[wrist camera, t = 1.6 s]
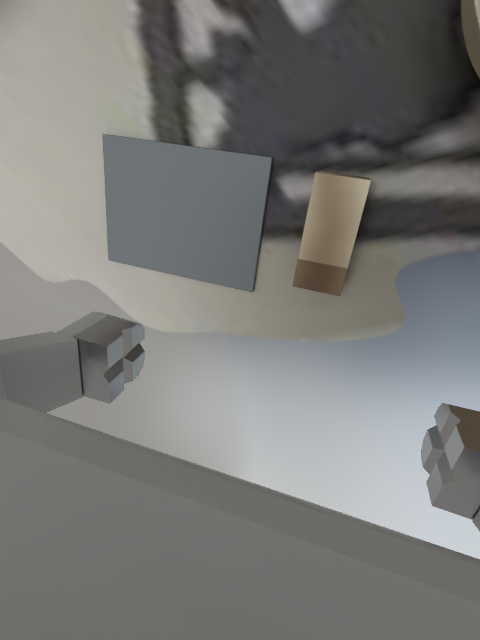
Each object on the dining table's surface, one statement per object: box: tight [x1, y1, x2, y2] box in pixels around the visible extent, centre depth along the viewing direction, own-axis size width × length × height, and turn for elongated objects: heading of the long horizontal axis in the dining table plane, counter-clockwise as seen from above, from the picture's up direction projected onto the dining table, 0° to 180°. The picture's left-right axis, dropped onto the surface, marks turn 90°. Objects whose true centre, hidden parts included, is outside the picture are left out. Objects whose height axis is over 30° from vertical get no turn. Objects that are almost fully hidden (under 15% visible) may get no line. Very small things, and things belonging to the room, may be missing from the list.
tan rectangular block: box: [293, 171, 371, 296], centre depth 29 cm, size 4×9×4 cm, turn 172°
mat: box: [103, 134, 273, 292], centre depth 34 cm, size 16×12×1 cm
